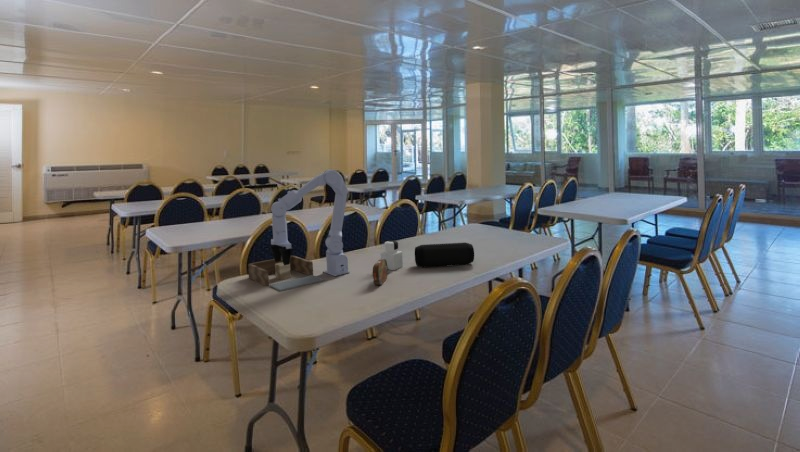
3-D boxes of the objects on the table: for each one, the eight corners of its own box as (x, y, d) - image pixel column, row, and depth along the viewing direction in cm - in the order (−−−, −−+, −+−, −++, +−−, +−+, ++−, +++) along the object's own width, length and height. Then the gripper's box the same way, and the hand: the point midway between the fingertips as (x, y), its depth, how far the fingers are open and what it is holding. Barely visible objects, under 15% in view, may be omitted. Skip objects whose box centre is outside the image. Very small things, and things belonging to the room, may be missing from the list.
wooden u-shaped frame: (313, 275, 185) (312, 261, 184) (266, 286, 171) (265, 271, 170) (294, 268, 197) (293, 255, 196) (248, 277, 184) (247, 263, 183)
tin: (379, 287, 166) (379, 266, 165) (371, 287, 167) (371, 266, 165) (388, 276, 181) (388, 256, 179) (381, 276, 181) (380, 256, 180)
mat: (323, 280, 177) (323, 279, 177) (280, 291, 164) (280, 289, 164) (312, 276, 183) (312, 275, 183) (269, 286, 171) (269, 284, 171)
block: (290, 277, 183) (289, 263, 182) (280, 280, 180) (279, 265, 179) (285, 275, 186) (284, 262, 185) (275, 277, 183) (274, 263, 182)
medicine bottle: (390, 264, 199) (389, 239, 197) (403, 266, 195) (402, 240, 193) (380, 268, 194) (379, 242, 192) (393, 270, 190) (393, 243, 188)
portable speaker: (468, 261, 203) (468, 240, 201) (474, 266, 193) (475, 244, 191) (414, 264, 200) (414, 243, 198) (418, 270, 190) (417, 247, 188)
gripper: (263, 230, 182) (265, 261, 184) (278, 234, 171) (281, 268, 174) (278, 228, 187) (280, 258, 189) (295, 232, 176) (297, 264, 178)
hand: (282, 263), depth 182 cm, fingers open, 7 cm apart
